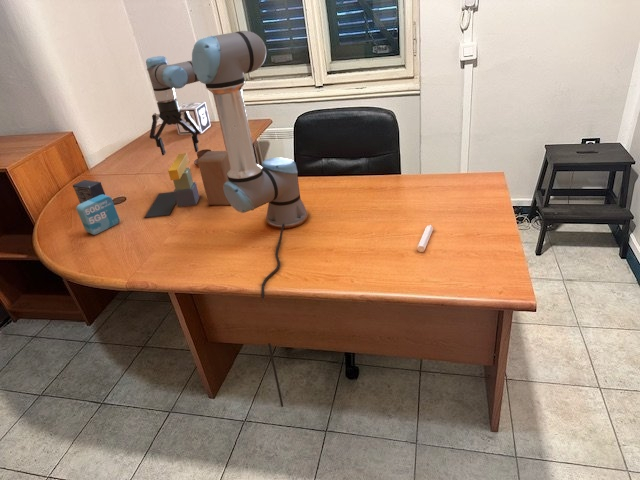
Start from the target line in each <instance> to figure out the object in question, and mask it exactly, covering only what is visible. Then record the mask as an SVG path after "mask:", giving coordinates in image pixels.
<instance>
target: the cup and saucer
mask: <svg viewBox="0 0 640 480" xmlns="http://www.w3.org/2000/svg"><path fill="white" fill-rule="evenodd" d="M207 151H212V150H211V149H210V148H209V149H208V148H207V149H201V150H198V151H197V152H196V157H197V158H195V160H193V164H194V165H195V166H198V167H199V165H198V159H199V158H200V157H201V156H203V155H204V154H205V153H206V152H207Z"/></svg>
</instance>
